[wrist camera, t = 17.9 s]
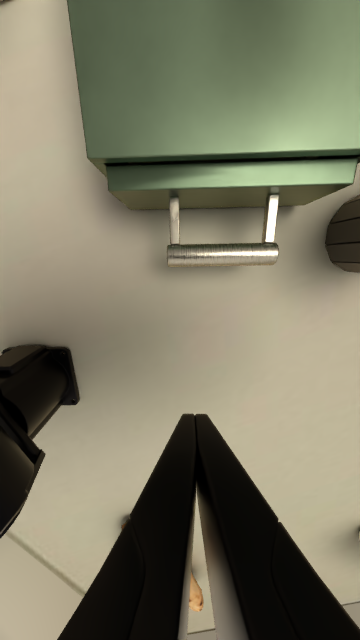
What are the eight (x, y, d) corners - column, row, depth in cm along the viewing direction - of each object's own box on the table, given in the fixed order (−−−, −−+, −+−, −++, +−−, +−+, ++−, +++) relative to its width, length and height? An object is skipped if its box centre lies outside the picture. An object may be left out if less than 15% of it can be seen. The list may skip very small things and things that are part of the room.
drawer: (295, 263, 16) (336, 265, 12) (134, 265, 17) (116, 268, 12) (343, -56, 11) (447, -262, 7) (110, -41, 11) (63, -225, 7)
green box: (309, 190, 15) (386, 148, 9) (124, 195, 16) (86, 158, 10) (352, -92, 11) (539, -484, 5) (100, -75, 12) (11, -416, 6)
